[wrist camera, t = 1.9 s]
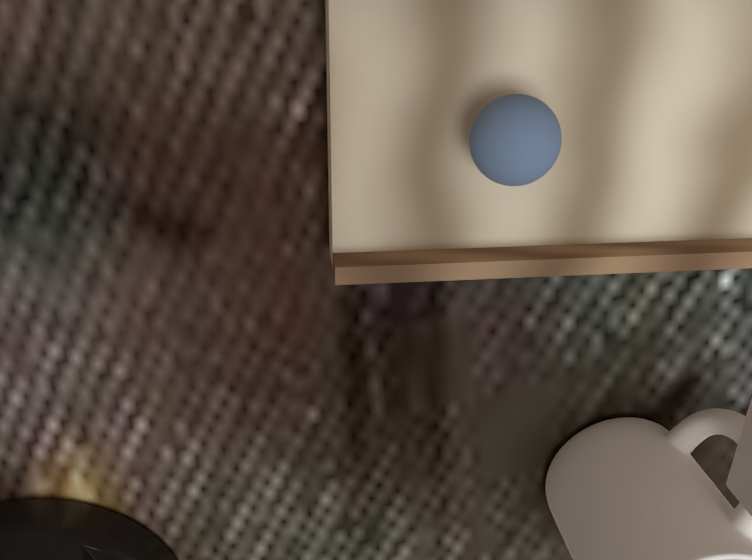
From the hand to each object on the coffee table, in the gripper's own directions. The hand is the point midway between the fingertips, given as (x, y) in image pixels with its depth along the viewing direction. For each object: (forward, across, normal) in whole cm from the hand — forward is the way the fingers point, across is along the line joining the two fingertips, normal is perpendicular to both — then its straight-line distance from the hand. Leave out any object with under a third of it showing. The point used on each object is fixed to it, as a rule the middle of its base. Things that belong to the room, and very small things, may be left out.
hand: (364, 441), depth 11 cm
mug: (+22, +18, -19) cm, 34 cm away
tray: (+22, +16, 0) cm, 27 cm away
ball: (+17, +8, 0) cm, 19 cm away
